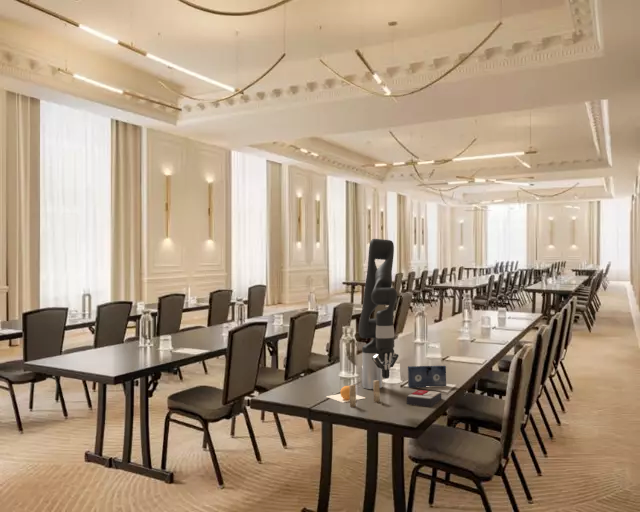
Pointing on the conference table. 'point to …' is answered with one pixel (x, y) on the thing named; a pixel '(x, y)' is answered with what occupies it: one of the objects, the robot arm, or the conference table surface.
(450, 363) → the conference table surface
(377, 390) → the post
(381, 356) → the robot arm
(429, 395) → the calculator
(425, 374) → the vhs cassette tape
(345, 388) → the ball
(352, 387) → the post
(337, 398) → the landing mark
